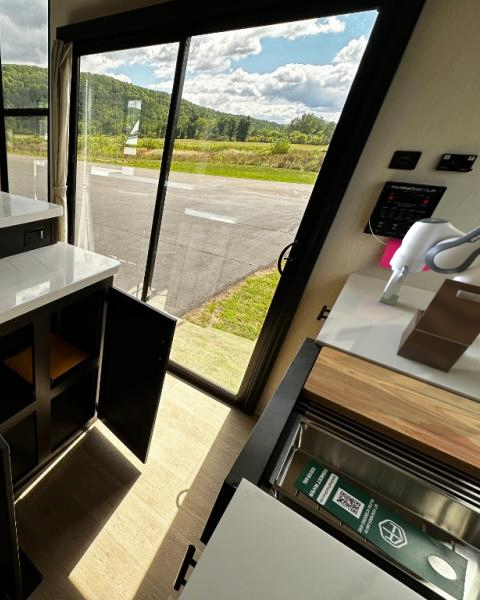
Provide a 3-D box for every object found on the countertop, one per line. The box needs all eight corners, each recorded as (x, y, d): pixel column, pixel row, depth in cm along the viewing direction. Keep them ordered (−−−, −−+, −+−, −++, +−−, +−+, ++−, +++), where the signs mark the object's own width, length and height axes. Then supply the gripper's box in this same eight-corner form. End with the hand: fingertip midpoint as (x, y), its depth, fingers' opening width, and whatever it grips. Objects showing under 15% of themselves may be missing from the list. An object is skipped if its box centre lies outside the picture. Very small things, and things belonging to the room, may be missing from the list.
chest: (402, 332, 107) (418, 308, 101) (450, 348, 100) (470, 323, 94) (396, 354, 98) (413, 329, 93) (447, 372, 91) (469, 346, 86)
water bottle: (421, 329, 107) (475, 265, 93) (414, 319, 112) (465, 256, 97) (455, 337, 104) (516, 272, 89) (447, 326, 109) (504, 262, 94)
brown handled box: (445, 278, 86) (446, 281, 83) (509, 292, 79) (512, 297, 76) (414, 327, 93) (413, 332, 89) (470, 345, 86) (471, 351, 82)
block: (380, 297, 125) (386, 287, 123) (395, 301, 122) (401, 291, 120) (378, 301, 123) (384, 291, 120) (393, 305, 120) (399, 295, 117)
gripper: (415, 275, 106) (393, 309, 114) (422, 256, 118) (402, 288, 125) (391, 269, 110) (371, 302, 118) (400, 251, 122) (382, 282, 129)
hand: (387, 294), depth 122 cm, fingers closed on block, 4 cm apart
